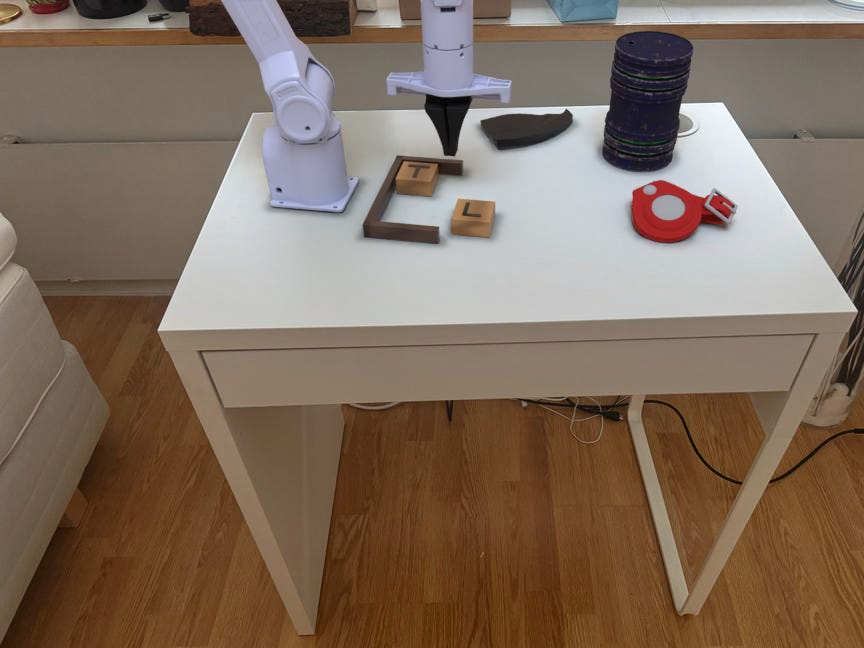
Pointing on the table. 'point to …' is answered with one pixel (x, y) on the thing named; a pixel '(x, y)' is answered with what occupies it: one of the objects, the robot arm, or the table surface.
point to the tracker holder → (676, 211)
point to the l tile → (473, 218)
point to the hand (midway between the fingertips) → (450, 152)
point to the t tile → (417, 178)
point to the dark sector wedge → (524, 128)
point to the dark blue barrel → (646, 99)
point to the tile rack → (372, 220)
